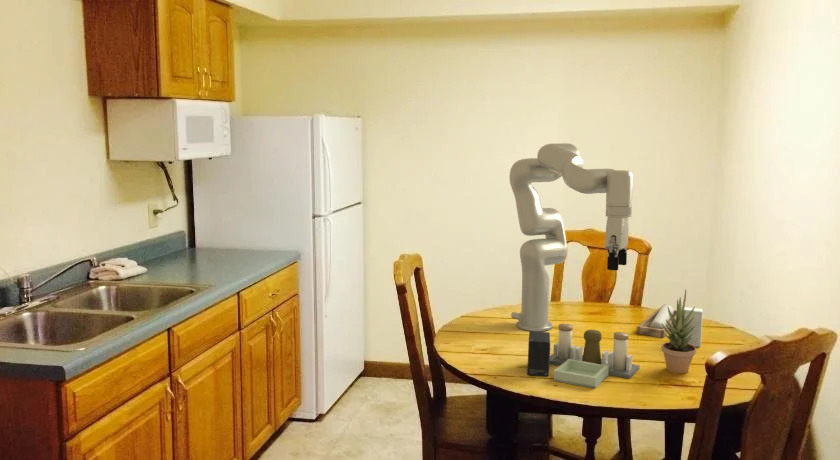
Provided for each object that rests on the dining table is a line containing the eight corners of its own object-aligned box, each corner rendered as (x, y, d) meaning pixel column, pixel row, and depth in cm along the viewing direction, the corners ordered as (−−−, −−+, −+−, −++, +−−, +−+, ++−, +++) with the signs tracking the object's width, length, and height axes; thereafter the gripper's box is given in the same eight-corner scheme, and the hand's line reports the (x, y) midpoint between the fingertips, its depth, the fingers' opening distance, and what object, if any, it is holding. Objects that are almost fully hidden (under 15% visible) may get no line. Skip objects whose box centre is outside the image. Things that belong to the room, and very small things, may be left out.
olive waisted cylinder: (578, 362, 222) (579, 327, 221) (598, 362, 223) (599, 327, 221) (584, 369, 216) (586, 333, 215) (604, 368, 217) (606, 333, 215)
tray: (553, 380, 207) (553, 370, 207) (568, 368, 217) (568, 358, 217) (594, 388, 201) (595, 378, 200) (608, 375, 211) (608, 365, 211)
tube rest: (637, 333, 253) (637, 326, 253) (658, 314, 278) (658, 307, 278) (663, 337, 248) (664, 330, 248) (683, 317, 273) (683, 311, 273)
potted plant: (682, 377, 209) (686, 294, 206) (654, 368, 217) (658, 287, 213) (702, 371, 215) (707, 289, 212) (674, 362, 223) (678, 283, 219)
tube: (666, 325, 250) (676, 307, 272) (651, 318, 252) (662, 301, 274) (660, 338, 251) (671, 320, 274) (646, 332, 253) (657, 314, 276)
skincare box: (701, 343, 241) (703, 308, 240) (700, 347, 238) (702, 311, 236) (681, 341, 244) (683, 306, 242) (680, 345, 240) (682, 309, 238)
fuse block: (544, 362, 222) (545, 327, 220) (556, 354, 231) (557, 319, 229) (630, 378, 209) (631, 340, 207) (639, 368, 217) (641, 332, 215)
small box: (549, 377, 210) (550, 341, 209) (526, 375, 211) (527, 340, 210) (549, 365, 220) (550, 331, 219) (527, 363, 222) (528, 330, 220)
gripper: (613, 208, 229) (612, 262, 232) (598, 213, 214) (596, 271, 217) (637, 209, 226) (636, 263, 228) (623, 215, 211) (622, 273, 213)
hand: (616, 267), depth 222 cm, fingers open, 9 cm apart
